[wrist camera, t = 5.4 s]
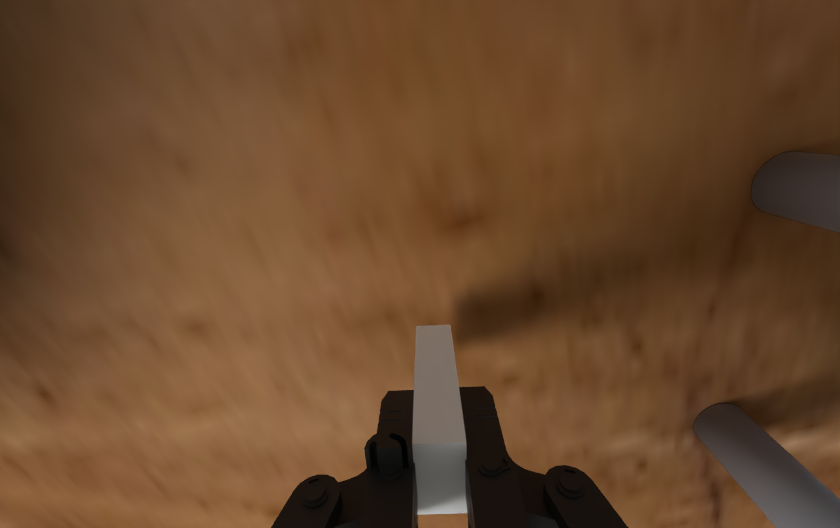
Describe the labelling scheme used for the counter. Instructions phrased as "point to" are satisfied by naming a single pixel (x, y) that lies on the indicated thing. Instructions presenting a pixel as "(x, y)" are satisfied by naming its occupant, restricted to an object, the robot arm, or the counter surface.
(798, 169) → the post
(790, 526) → the post
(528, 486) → the robot arm
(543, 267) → the counter surface
